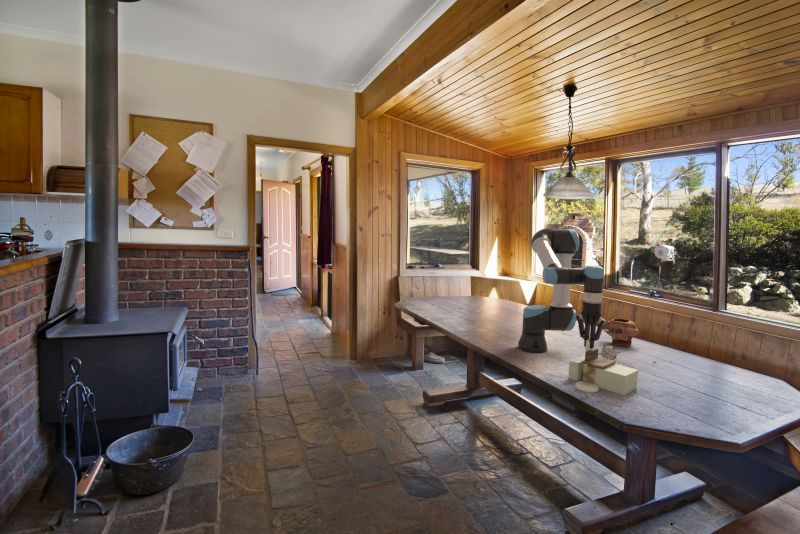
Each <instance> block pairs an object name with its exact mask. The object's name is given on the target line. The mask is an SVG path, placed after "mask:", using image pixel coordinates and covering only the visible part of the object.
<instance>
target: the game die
mask: <svg viewBox="0 0 800 534" xmlns="http://www.w3.org/2000/svg"><path fill="white" fill-rule="evenodd" d="M619 353H620V351H617V350H616V349H615V347H614V346H613V343H611V344H610V345H604V344H603V348H602V349H601V352H600V353H598V356H599V355H600V356H601V357H602V358H606V359H610V360H614V361H616V359H617V356H618V354H619Z"/></svg>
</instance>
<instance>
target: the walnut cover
mask: <svg viewBox="0 0 800 534" xmlns="http://www.w3.org/2000/svg"><path fill="white" fill-rule="evenodd" d="M599 350H600V349H599V348H597V347H594V348H592V350H589V351H586V350H585V351H586V352H584V353H585V355H584V356H585V360H584V361H582V364H586V365H590V366H593V367H597V368H601V369H604V368H606V367H608V366H611V365H613V364H617V363H616V362H617V360H615V361H614V360H610V359H606V358H604V357H603V356H599Z"/></svg>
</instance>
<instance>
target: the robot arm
mask: <svg viewBox="0 0 800 534" xmlns="http://www.w3.org/2000/svg"><path fill="white" fill-rule="evenodd" d="M530 247H531V248H532V250H533V252H534V253H535V254H537V256H538V259H539V260H540V263H541V265H542V267H543V270H542V280H543V283H545V284H550V285H552V286H553V287H552V302H551V303H550V304H549V306H548V308H547V306H546V305H543V304H533V305H528V306H526V307H524V308H523V310H522V311H523V313H522V329H521V331H522V332H521V335H520V338H519V340H518V343H517V348H518V350H520V351H523V352H527V353H535V354H536V353H537V354H539V353H540V354H541V353H546V352H548V344H547V339H546V336H545V335H546V334H545V333H546V331H553V332H554V331H557V332H570V331H572V330H573V329H574V327H576V322H577V325H578V330H579V331H578V332H579V337H580V338H582V339H583V340H584V341H583V342H584V343H583V345H584V347H585V352H586V351H589V350H592V349H594V348H595V342H596V341H599V340H600V339H601V335H602V331H603V328H604V327H605V325H606V324H605V323H606V322H607V321H608V320H607V319H604V318H603V317H602V313H601V312H602V303H601V302H602V301H603V287H604V278H605V277H604V276H605V274H604V273H605V272H604V271H605V270H604V267H602V266H598V265H586V266H585V267H582V266H581V267H572V258H573V257H574V256H575V255H576V254H575V252H577V251H578V250H579V249H580V237H579V234H578V232H577V231H576V230H575V229H572V228H547V227H546V228H542V229H540V230H537V231H536V232H535V234H533V236H532V238H531V240H530ZM571 285H573V286H574V285H577V286H578V285H580V286H583V292H582V300H583V301H582V305H581V306H582V307H581V309H582V310H581V312H580V314H578V315H577V311H576V310H575V309H574V308H573V305H572V304H571ZM598 322H599V323H598ZM597 323H598V326H597ZM604 324H605V325H604ZM585 352H584V353H585Z"/></svg>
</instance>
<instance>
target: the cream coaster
mask: <svg viewBox="0 0 800 534" xmlns="http://www.w3.org/2000/svg"><path fill="white" fill-rule="evenodd" d="M575 389H576V390H578V391H580V392H583V393H587V394H588V393H589V394H592V393H593V394H595V393H597V392H599V389H600V388H599V386H597V385H596V384H594V383H591V382H587V381H576V383H575Z"/></svg>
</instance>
